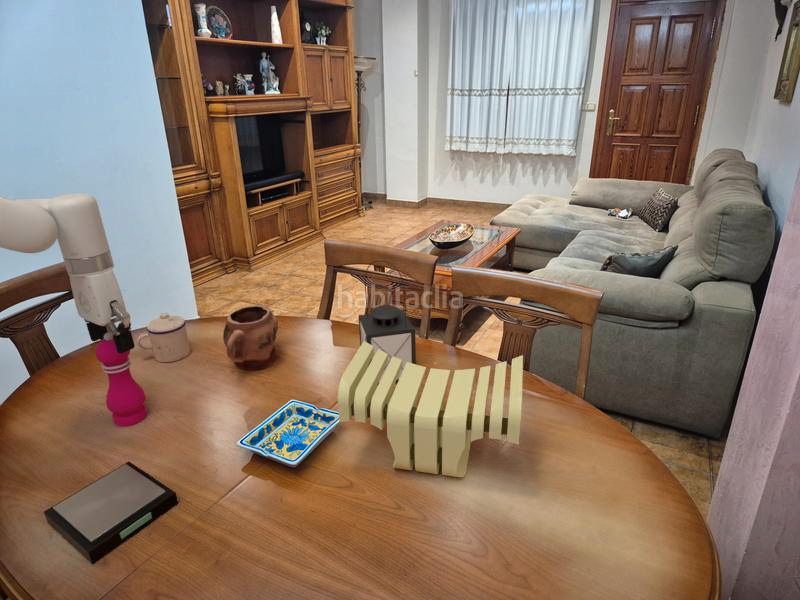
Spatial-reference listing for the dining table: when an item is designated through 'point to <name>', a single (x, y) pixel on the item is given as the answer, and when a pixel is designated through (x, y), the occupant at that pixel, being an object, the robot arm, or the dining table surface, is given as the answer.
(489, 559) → the dining table surface
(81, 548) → the kitchen scale
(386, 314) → the lantern
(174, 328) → the teacup with lid
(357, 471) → the dining table surface
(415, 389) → the slatted curved stool
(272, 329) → the decorative planter
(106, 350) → the pepper mill
